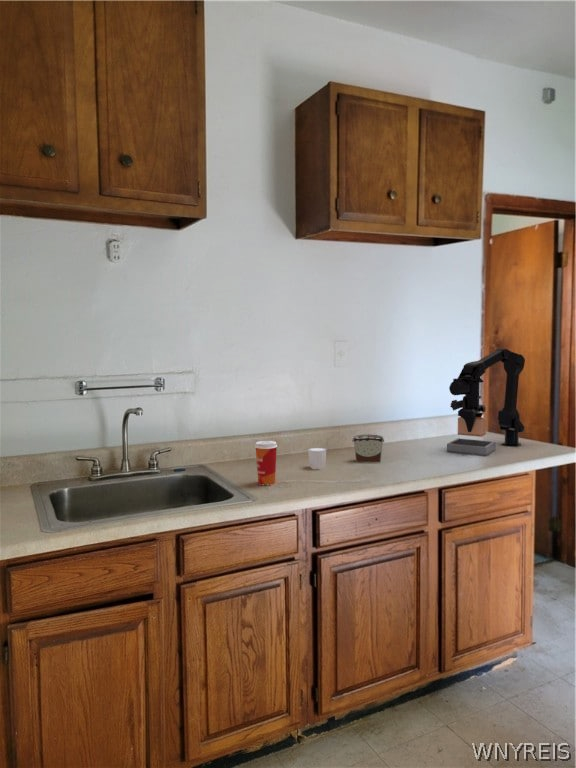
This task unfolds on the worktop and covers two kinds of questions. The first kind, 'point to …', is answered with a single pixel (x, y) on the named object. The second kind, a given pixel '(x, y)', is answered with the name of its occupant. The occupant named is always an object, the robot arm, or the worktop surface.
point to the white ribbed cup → (317, 457)
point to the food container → (368, 448)
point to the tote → (477, 429)
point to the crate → (471, 447)
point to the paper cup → (266, 461)
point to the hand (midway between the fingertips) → (471, 430)
